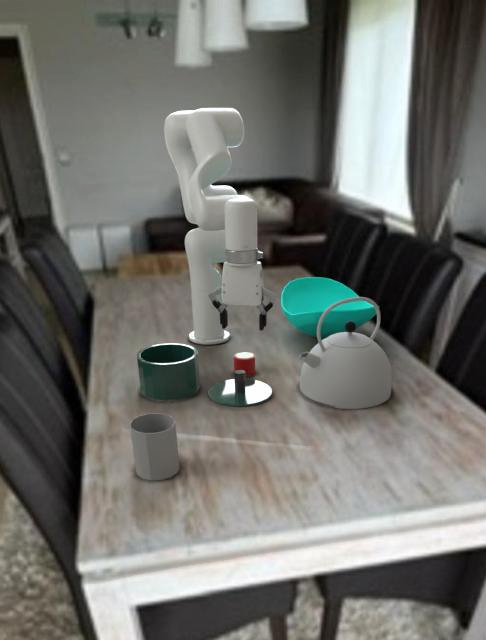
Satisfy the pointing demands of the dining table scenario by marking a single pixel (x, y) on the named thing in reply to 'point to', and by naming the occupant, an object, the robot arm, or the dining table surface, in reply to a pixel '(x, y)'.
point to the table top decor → (322, 306)
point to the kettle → (347, 367)
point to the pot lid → (240, 391)
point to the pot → (168, 371)
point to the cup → (155, 446)
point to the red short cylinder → (245, 362)
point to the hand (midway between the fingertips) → (243, 328)
